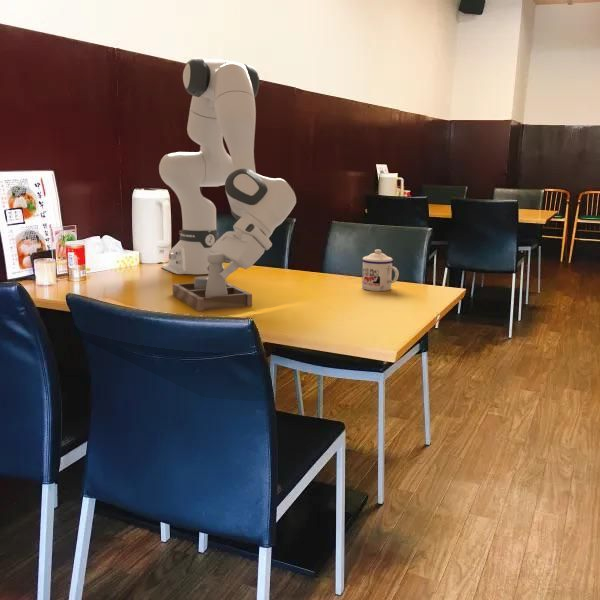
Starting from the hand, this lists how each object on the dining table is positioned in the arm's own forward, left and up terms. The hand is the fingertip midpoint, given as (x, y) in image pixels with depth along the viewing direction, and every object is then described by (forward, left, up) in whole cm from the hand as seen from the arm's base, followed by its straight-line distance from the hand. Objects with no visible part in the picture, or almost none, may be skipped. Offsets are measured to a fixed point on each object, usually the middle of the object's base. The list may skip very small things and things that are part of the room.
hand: (214, 273), depth 157 cm
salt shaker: (0, 0, -8) cm, 8 cm away
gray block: (-9, +3, -8) cm, 12 cm away
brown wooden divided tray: (-4, +2, -9) cm, 10 cm away
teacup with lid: (+12, +51, -9) cm, 54 cm away
